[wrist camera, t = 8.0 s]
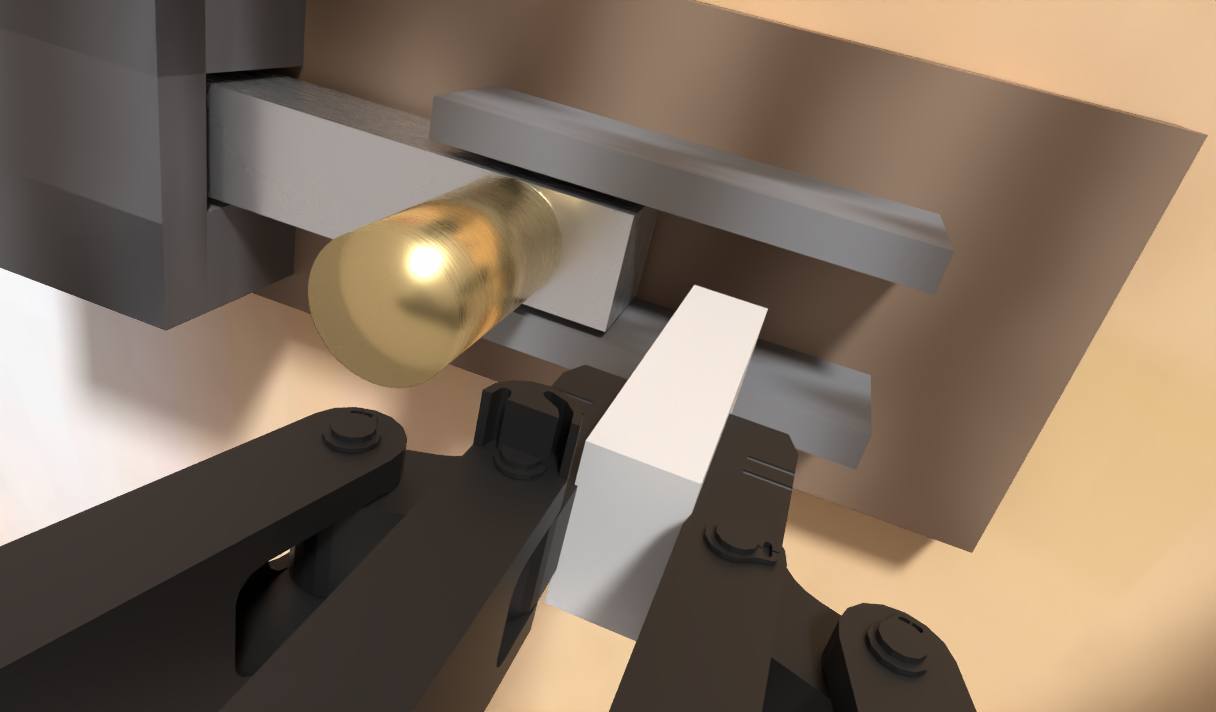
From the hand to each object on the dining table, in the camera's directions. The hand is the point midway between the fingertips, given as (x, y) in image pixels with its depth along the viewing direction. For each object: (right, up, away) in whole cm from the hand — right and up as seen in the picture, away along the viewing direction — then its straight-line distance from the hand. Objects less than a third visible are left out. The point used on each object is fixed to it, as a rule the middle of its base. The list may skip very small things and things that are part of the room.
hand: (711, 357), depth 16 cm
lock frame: (-3, +5, +8) cm, 10 cm away
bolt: (-8, +6, +7) cm, 12 cm away
